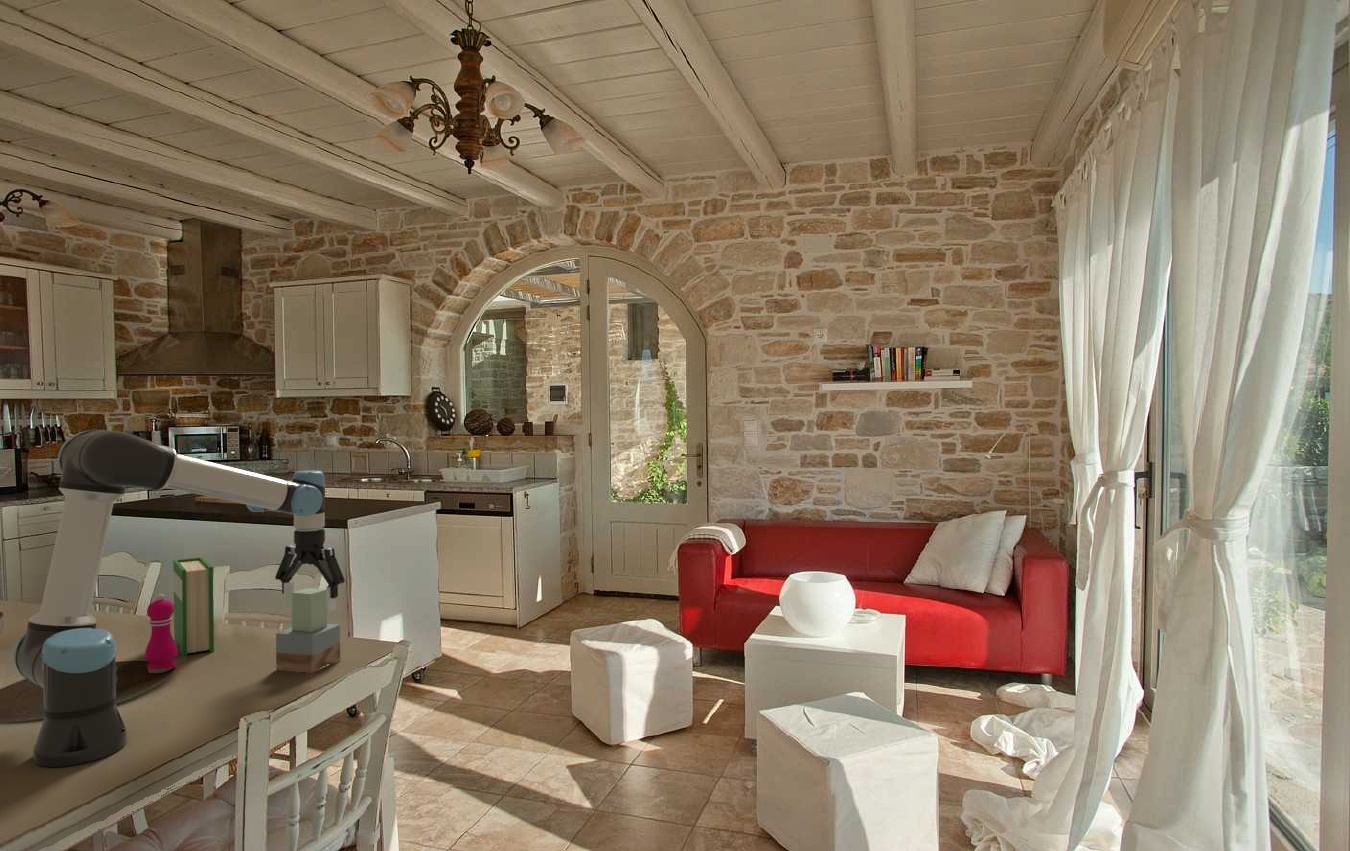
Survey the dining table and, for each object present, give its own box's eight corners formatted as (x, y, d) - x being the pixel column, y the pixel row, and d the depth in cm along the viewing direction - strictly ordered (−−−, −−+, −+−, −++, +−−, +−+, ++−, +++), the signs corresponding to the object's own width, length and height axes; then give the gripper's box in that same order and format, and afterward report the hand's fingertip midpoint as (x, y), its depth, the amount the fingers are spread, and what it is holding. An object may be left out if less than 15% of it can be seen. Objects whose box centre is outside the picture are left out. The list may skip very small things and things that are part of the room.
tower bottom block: (311, 675, 206) (311, 655, 206) (276, 670, 209) (276, 652, 209) (340, 661, 217) (340, 643, 216) (306, 657, 220) (306, 639, 219)
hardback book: (213, 651, 224) (212, 566, 223) (183, 657, 219) (182, 570, 218) (203, 637, 237) (202, 557, 237) (174, 641, 233) (173, 560, 232)
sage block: (310, 632, 209) (311, 594, 209) (292, 630, 211) (292, 592, 211) (327, 626, 215) (327, 589, 215) (308, 624, 217) (308, 587, 217)
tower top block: (312, 655, 206) (312, 636, 206) (276, 652, 209) (275, 633, 208) (339, 643, 217) (339, 624, 217) (305, 640, 219) (304, 622, 219)
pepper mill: (161, 675, 204) (160, 598, 204) (137, 673, 206) (136, 596, 205) (184, 666, 211) (183, 591, 211) (161, 664, 213) (160, 590, 212)
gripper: (358, 529, 212) (358, 608, 213) (281, 524, 219) (282, 601, 220) (339, 533, 205) (339, 615, 205) (260, 528, 212) (260, 607, 213)
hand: (309, 608), depth 213 cm, fingers open, 13 cm apart
